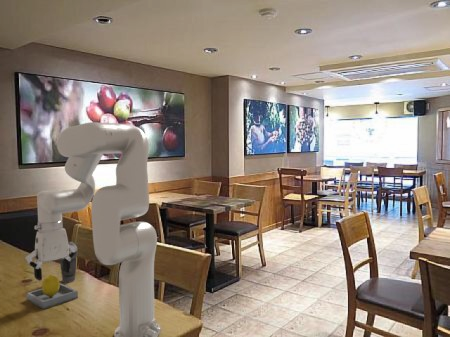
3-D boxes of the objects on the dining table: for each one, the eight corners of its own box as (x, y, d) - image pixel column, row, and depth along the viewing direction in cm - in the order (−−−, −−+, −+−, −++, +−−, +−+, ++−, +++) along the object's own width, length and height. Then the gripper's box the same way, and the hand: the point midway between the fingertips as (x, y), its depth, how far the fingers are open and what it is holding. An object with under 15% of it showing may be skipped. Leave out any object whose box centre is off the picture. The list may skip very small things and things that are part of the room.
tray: (77, 297, 132) (77, 290, 132) (43, 309, 123) (43, 301, 123) (60, 289, 140) (60, 283, 139) (26, 300, 130) (26, 293, 130)
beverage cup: (71, 284, 145) (70, 233, 144) (54, 283, 147) (53, 232, 145) (82, 278, 152) (81, 228, 151) (66, 276, 154) (64, 228, 153)
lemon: (55, 293, 135) (54, 271, 134) (62, 297, 131) (62, 274, 131) (39, 297, 131) (38, 275, 130) (46, 302, 127) (46, 278, 127)
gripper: (29, 232, 121) (32, 285, 121) (79, 223, 134) (81, 271, 135) (19, 229, 125) (21, 280, 126) (68, 221, 139) (71, 267, 139)
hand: (52, 275), depth 130 cm, fingers open, 9 cm apart
